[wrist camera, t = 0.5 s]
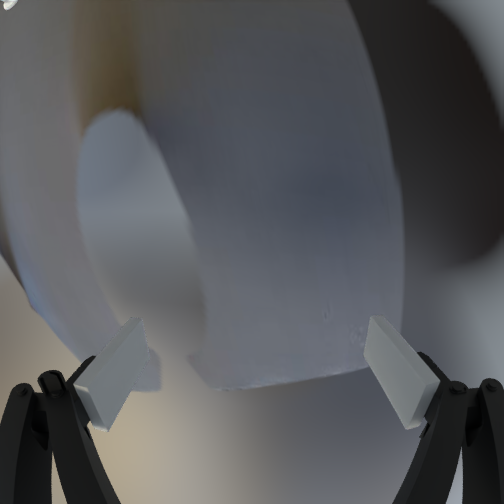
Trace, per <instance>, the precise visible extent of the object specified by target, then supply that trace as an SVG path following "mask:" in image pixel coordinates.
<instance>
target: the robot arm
mask: <svg viewBox="0 0 504 504" xmlns="http://www.w3.org/2000/svg"><path fill="white" fill-rule="evenodd" d="M363 356H364V357H365V359H366V361H367V362H368V364H369V366H370V367H371V369H372V371H373V372H374V374H375V376H376V378H377V379H378V381H379V383H380V384H381V386H382V388H383V390H384V391H385V393H386V395H387V397H388V399H389V400H390V402H391V404H392V406H393V407H394V409H395V411H396V413H397V414H398V416H399V418H400V420H401V422H402V423H403V425H404V427H405V429H406V430H407V429H411V428H414V427H417V426H420V424H421V422H422V420H423V418H424V417H425V419H426V420H427V424H426V426H425V428H424V430H423V431H422V433H421V435H420V438H421V440H420V443H419V445H418V448H417V451H416V453H415V456H414V458H413V461H412V463H411V465H410V468H409V470H408V472H407V475H406V477H405V479H404V481H403V483H402V485H401V487H400V489H399V491H398V494H397V495H396V497H395V499H394V502H393V503H392V504H446V501H447V498H448V495H449V492H450V489H451V486H452V482H453V479H454V475H455V472H456V468H457V464H458V459H459V455H460V451H461V446H462V459H463V499H462V504H504V389H503V386H502V385H501V383H500V382H499V381H497V380H495V379H491V378H488V379H485V380H483V381H482V383H481V385H480V387H479V388H472V389H468V387H467V386H466V385H465V384H464V383H462V382H459V381H450V380H449V379H448V378H447V376H446V375H445V374H444V373H443V372H442V371H441V370H440V369H439V367H437V365H436V364H435V363H433V361H432V360H431V359H430V357H429V356H427V355H425V354H424V353H422V352H417V353H416V352H415V351H414V350H413V349H412V347H411V346H410V345H409V344H408V343H407V342H406V341H405V340H404V338H403V337H402V336H401V335H400V334H399V333H398V332H397V331H396V330H395V328H394V327H393V326H392V325H391V324H390V323H389V322H388V321H387V320H386V319H385V318H384V316H383V315H375V316H370V322H369V328H368V334H367V339H366V345H365V350H364V354H363ZM149 359H150V354H149V349H148V345H147V340H146V335H145V330H144V325H143V319H142V318H133V317H131V318H130V319H129V320H128V321H127V322H126V323H125V324H124V326H123V327H122V328H121V329H120V330H119V331H118V332H117V333H116V335H115V336H114V337H113V338H112V339H111V340H110V341H109V343H108V344H107V345H106V346H105V347H104V348H103V349H102V351H101V352H100V353H99V354H98V355H97V356H91V357H89V358H88V359H86V360H85V361H84V362H83V363H82V364H81V366H80V367H79V368H78V369H77V370H76V371H75V372H74V373H73V374H72V376H71V377H70V378H69V379H68V380H67V381H66V382H65V379H64V377H63V375H62V373H61V372H60V371H57V370H49V371H46V372H44V373H42V374H41V375H40V376H39V377H38V384H39V386H40V387H41V390H42V392H43V393H37V392H34V390H33V388H32V387H31V385H30V384H27V383H21V384H18V385H16V386H15V387H14V388H13V389H12V391H11V393H10V396H9V399H8V402H7V404H6V407H5V410H4V414H3V417H2V420H1V423H0V504H52V494H51V473H52V471H51V470H52V452H53V455H54V459H55V463H56V467H57V471H58V475H59V479H60V482H61V485H62V489H63V492H64V495H65V498H66V501H67V504H121V503H120V501H119V499H118V497H117V495H116V493H115V491H114V489H113V487H112V485H111V483H110V481H109V479H108V477H107V474H106V472H105V470H104V468H103V465H102V463H101V460H100V458H99V455H98V453H97V450H96V448H95V445H94V442H93V439H92V437H91V434H90V431H89V429H88V427H87V424H88V423H89V421H91V423H92V425H93V426H94V428H95V429H98V430H102V431H106V432H109V430H110V428H111V426H112V424H113V422H114V421H115V419H116V417H117V415H118V413H119V411H120V410H121V408H122V406H123V404H124V402H125V401H126V399H127V397H128V395H129V393H130V392H131V390H132V388H133V387H134V385H135V383H136V381H137V380H138V378H139V376H140V374H141V373H142V371H143V369H144V367H145V366H146V364H147V362H148V360H149Z"/></svg>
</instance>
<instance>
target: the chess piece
mask: <svg viewBox="0 0 504 504" xmlns="http://www.w3.org/2000/svg"><path fill="white" fill-rule="evenodd" d="M1 1H4V9H6V10H9V9H11V8H12V7H13V6H14V5H15V4H16V2H17V1H18V0H1Z"/></svg>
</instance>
